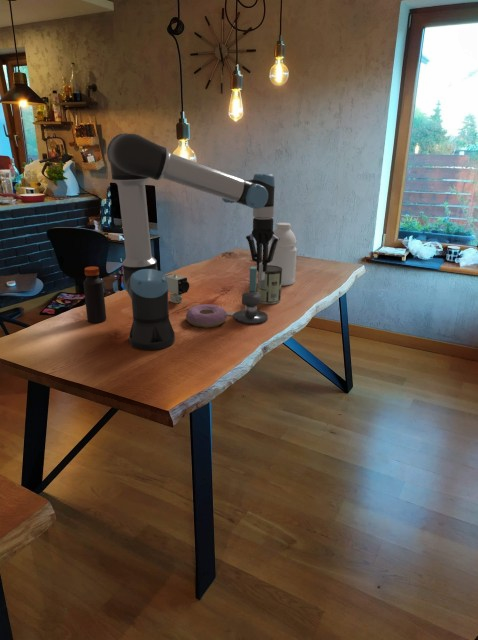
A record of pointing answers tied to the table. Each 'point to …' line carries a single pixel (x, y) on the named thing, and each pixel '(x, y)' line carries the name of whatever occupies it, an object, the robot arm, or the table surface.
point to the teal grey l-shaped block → (252, 290)
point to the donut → (206, 315)
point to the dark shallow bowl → (249, 315)
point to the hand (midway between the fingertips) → (261, 279)
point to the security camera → (177, 287)
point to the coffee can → (270, 285)
